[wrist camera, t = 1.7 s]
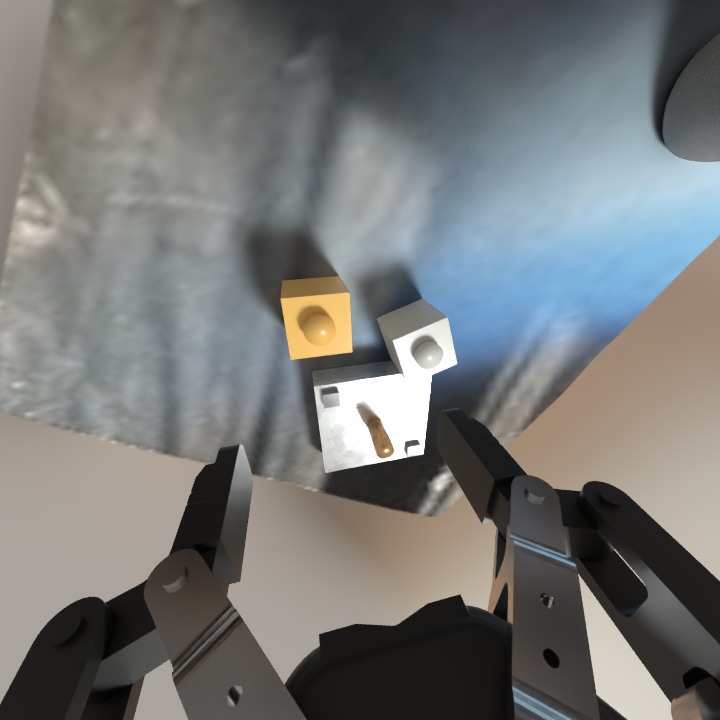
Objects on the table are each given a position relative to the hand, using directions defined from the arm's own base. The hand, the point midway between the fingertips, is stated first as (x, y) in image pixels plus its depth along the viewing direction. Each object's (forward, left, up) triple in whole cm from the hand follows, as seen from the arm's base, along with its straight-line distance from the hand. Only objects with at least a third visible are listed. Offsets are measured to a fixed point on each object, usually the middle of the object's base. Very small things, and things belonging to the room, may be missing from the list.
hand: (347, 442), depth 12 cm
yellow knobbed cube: (0, 0, -18) cm, 18 cm away
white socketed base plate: (+13, +5, -18) cm, 23 cm away
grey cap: (+3, +9, -18) cm, 20 cm away
